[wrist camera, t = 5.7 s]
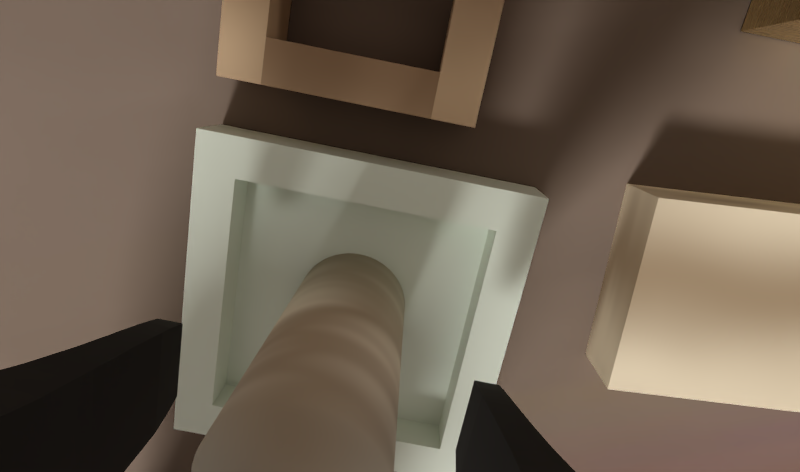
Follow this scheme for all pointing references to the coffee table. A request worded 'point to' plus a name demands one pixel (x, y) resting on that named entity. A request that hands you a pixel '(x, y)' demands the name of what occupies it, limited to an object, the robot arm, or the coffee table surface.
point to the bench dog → (774, 19)
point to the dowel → (319, 380)
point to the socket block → (362, 62)
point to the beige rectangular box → (702, 299)
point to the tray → (359, 234)
